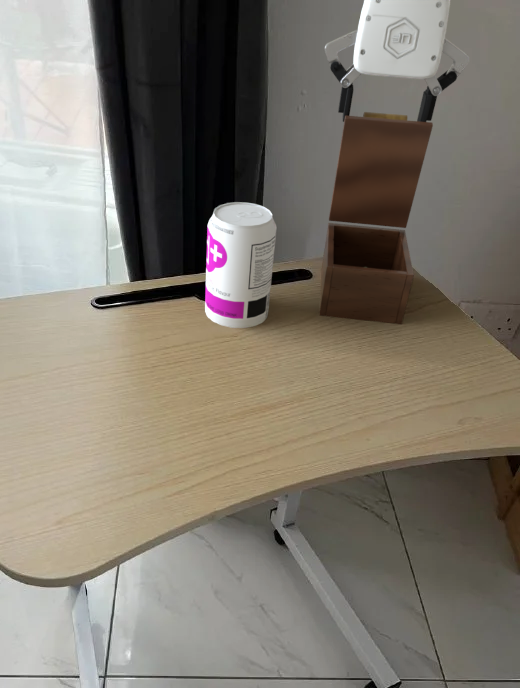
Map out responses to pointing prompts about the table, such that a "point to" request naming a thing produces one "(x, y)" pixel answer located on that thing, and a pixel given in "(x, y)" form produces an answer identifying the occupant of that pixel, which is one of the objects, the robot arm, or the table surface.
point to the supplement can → (239, 264)
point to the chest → (365, 273)
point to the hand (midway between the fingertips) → (382, 122)
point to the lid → (378, 169)
